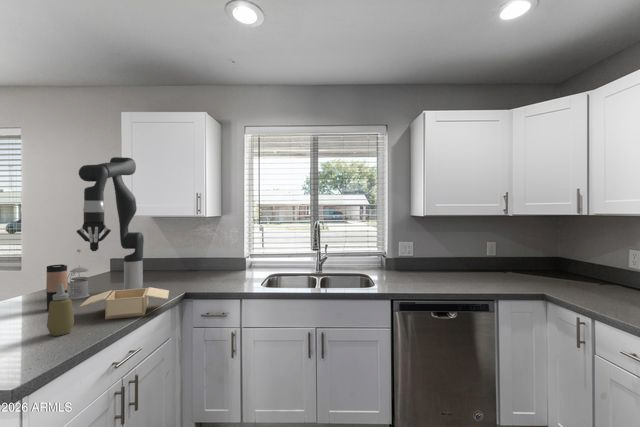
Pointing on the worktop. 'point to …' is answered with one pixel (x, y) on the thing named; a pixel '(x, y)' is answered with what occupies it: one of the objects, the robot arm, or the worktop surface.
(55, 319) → the squeeze bottle
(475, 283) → the worktop surface
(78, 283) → the french press
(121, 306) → the carton
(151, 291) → the flap
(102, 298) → the flap
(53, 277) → the travel mug
